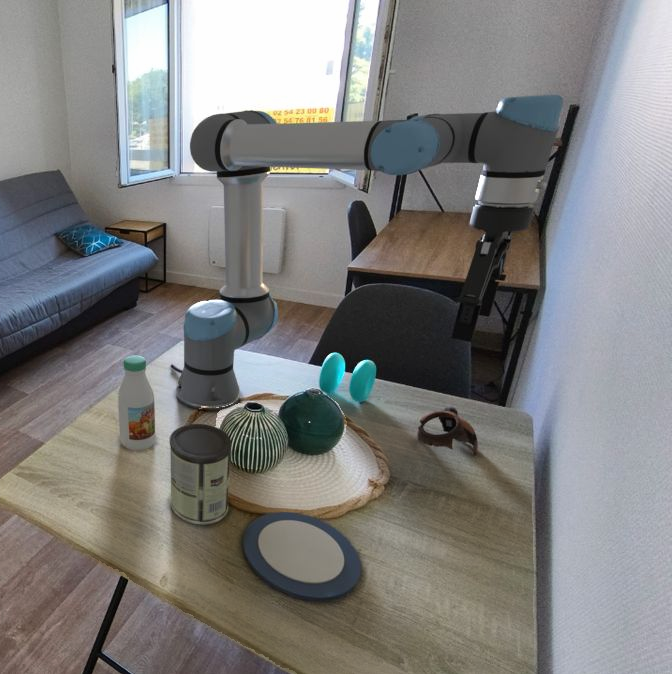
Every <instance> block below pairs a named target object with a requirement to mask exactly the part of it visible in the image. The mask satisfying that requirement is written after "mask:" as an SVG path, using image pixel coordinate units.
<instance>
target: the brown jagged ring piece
mask: <svg viewBox="0 0 672 674" xmlns="http://www.w3.org/2000/svg"><path fill="white" fill-rule="evenodd" d="M458 413H459V412H458V410H457V409H456V408H455V407H453V406H447V407H444V408H443V409H442V410H436V411H433V412H429V413H427V414H425V415H424V416H422V417H421V418H420V420H419V423H420V425H419V426H418V427H417V428H418V429H417V433H416V436H417V440H418V441H419V442H421V443H423V444H424V445H427V446H429V447H441V448H442V447H444V448H447V449H449V450H453V449H454V448H453V442H454V440H455V441H457V442H463V443H468V444H470V445H472V450H473V456H477V455H478V452H479V451H478V448H479V446H478V445H479V444H478V436H477V434H476V432H475V429H474V428H473V426H472V425H471V424H470V423H469V422H468V421H467V420H465V419H464V418H463V417H460V416H459V414H458ZM437 418H438V420H439V422H440V423H441V429H442V431H443V432H444V433H440V434H438V433H437V434H435V433H430V432H428V431H426V430H425V428H424V427H425V425H426V424H427V423H428V422H430V421H432V420H434V419H437Z"/></svg>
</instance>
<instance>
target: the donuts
mask: <svg viewBox="0 0 672 674" xmlns="http://www.w3.org/2000/svg"><path fill="white" fill-rule="evenodd" d="M345 372H346V360H345V359H344V357H343V355H342V354H340V353H339V352H332V353H330V354H328V355H327V356H326V357H325V359H324V361H323V363H322V365H321V369H320V372H319V375H318V377H319V378H318V387H319V389H320V391H321V392H323V393H324V394H331V393H334V392H335V391H336V390H337V389H338V388H339V387H340V386H341V383H342V382H343V378H344V375H345ZM376 376H377V365H376V364H375V362H374V361H373V360H370V359H364V360H362V361H360V362H358V363H357V365H356V366H355V367H354V370H353V372H352V374H351V377H350V381H349V387H348V388H349V391H348V392H349V395H350V397H351V398H352V400H354V401H355V402H358V403H362V402H365V401H366V400H367V399H368V398H369V396H370V395H371V392H372V390H373V387H374V384H375V380H376Z"/></svg>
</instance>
